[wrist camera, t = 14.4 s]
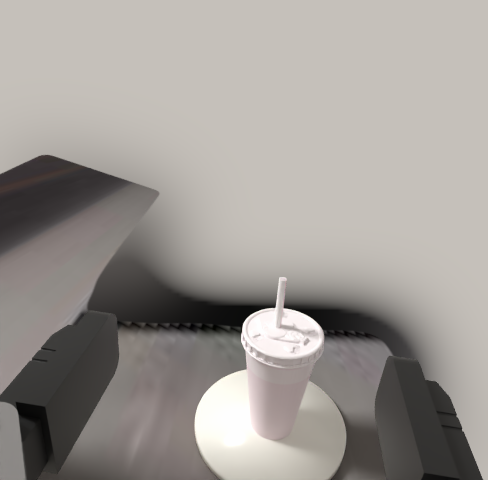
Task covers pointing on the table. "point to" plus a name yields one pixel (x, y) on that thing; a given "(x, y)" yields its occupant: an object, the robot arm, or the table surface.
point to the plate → (264, 450)
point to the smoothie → (279, 364)
